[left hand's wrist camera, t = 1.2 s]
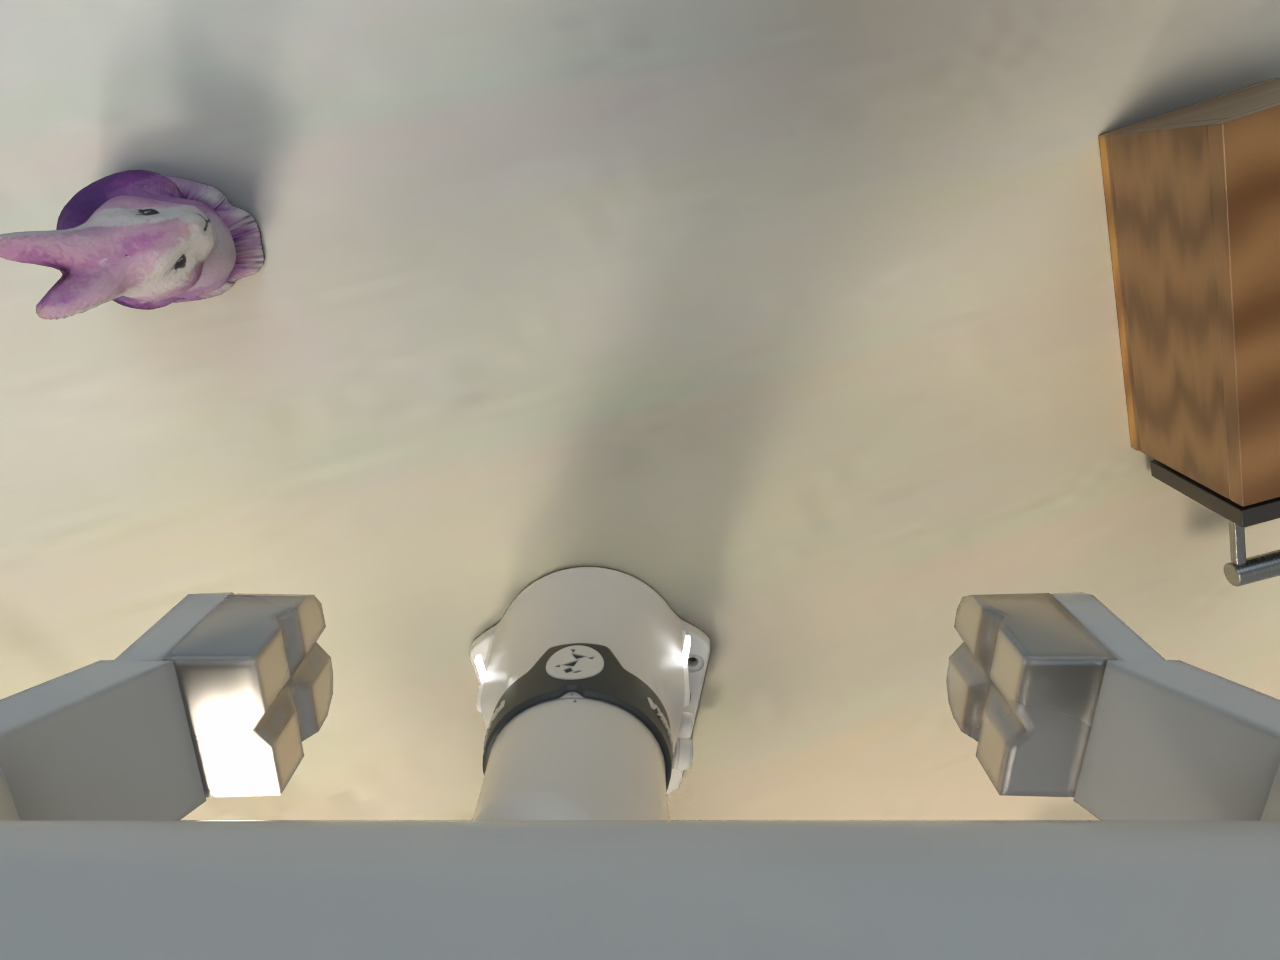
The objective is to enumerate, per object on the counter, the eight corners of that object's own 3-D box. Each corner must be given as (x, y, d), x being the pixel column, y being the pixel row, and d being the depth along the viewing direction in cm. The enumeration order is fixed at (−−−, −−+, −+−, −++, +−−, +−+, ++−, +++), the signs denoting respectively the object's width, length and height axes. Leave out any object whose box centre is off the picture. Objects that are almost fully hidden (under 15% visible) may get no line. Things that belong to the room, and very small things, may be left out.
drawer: (1286, 509, 57) (1399, 567, 49) (1157, 544, 58) (1246, 606, 50) (1274, 141, 49) (1409, 133, 40) (1123, 189, 50) (1223, 191, 41)
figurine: (300, 229, 51) (171, 247, 37) (210, 340, 54) (59, 397, 40) (175, 116, 49) (-12, 90, 35) (88, 239, 51) (-119, 260, 37)
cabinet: (1280, 404, 56) (1429, 456, 45) (1131, 447, 57) (1242, 507, 46) (1269, 79, 48) (1444, 51, 38) (1098, 135, 49) (1221, 123, 39)
